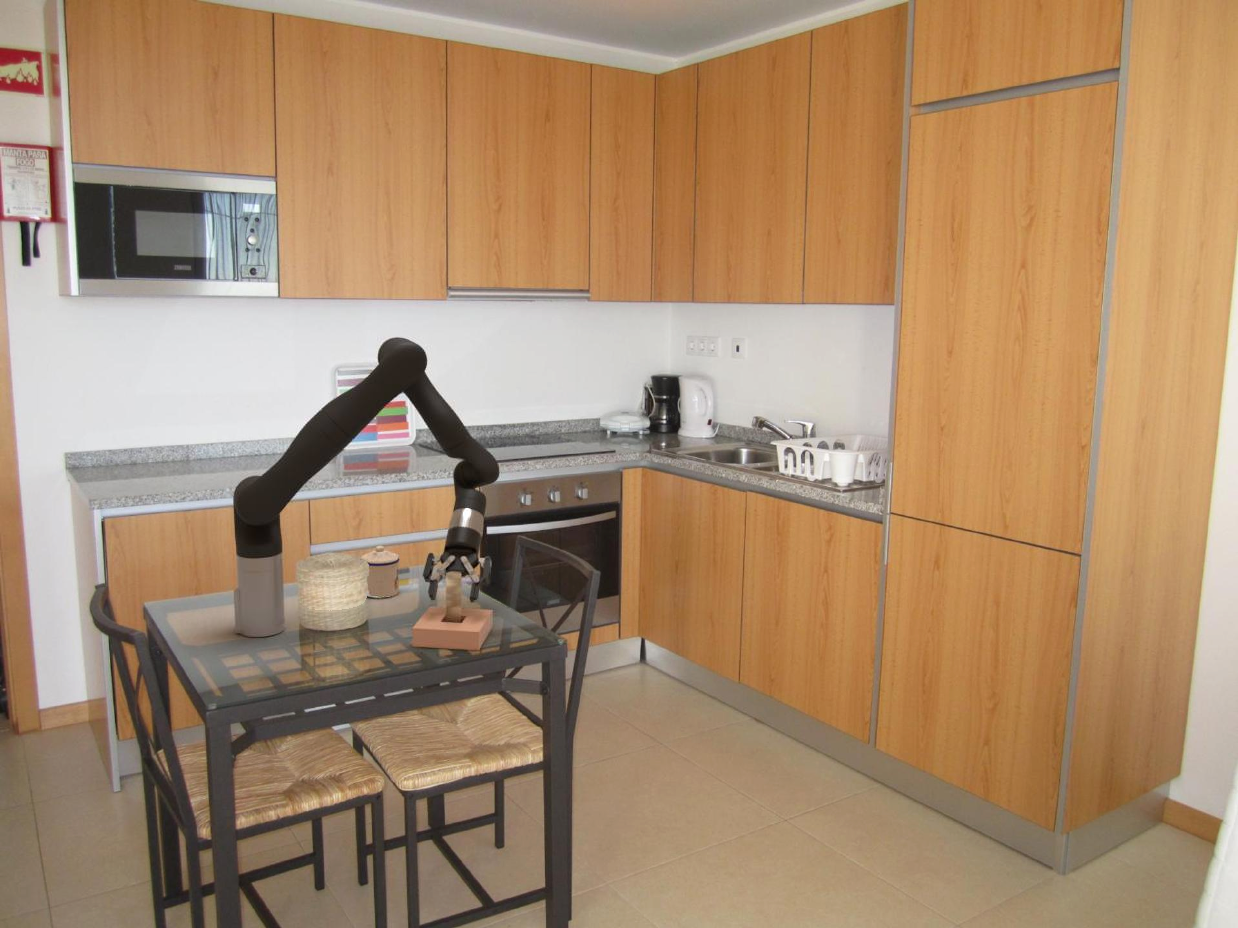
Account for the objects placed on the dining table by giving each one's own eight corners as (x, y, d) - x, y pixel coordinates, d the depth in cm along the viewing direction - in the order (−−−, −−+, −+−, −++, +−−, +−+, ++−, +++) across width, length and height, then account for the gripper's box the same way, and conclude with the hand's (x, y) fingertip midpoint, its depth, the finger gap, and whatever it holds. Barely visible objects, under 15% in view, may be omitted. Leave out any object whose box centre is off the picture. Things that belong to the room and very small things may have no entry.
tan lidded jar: (404, 596, 243) (403, 549, 241) (366, 601, 239) (365, 553, 237) (390, 582, 253) (390, 537, 251) (354, 586, 249) (353, 540, 247)
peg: (444, 638, 216) (444, 575, 214) (448, 633, 219) (448, 571, 217) (459, 639, 216) (459, 576, 213) (462, 634, 219) (462, 571, 217)
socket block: (412, 646, 211) (412, 628, 211) (430, 623, 225) (430, 606, 224) (478, 650, 210) (478, 631, 210) (492, 627, 224) (492, 609, 223)
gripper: (429, 523, 221) (415, 589, 212) (494, 526, 220) (482, 593, 211) (436, 540, 227) (422, 606, 218) (498, 544, 226) (487, 609, 217)
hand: (452, 599), depth 215 cm, fingers open, 8 cm apart
